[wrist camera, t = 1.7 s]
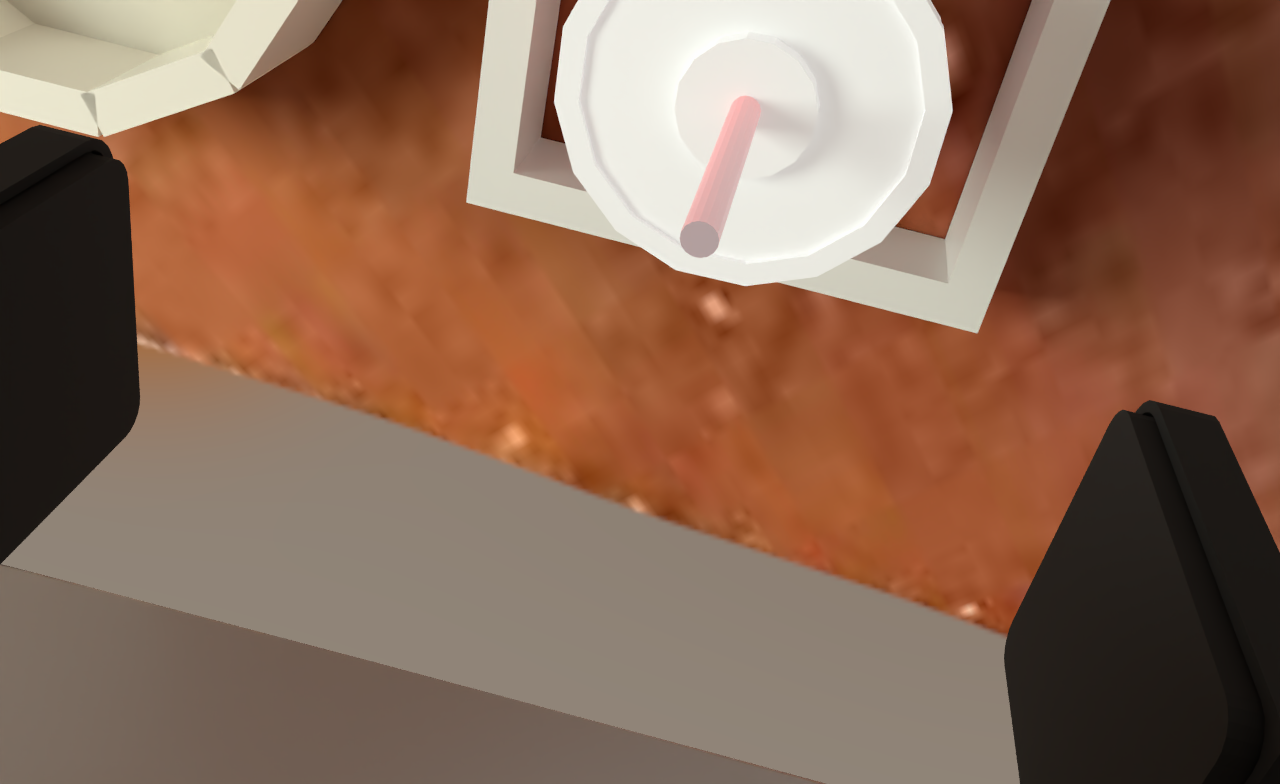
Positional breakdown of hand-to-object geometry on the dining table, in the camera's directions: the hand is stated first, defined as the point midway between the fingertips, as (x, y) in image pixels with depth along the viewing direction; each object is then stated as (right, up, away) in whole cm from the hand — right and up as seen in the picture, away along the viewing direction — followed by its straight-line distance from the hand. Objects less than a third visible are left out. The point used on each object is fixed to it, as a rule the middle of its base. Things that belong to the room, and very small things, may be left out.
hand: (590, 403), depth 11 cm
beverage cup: (+4, +9, +15) cm, 18 cm away
